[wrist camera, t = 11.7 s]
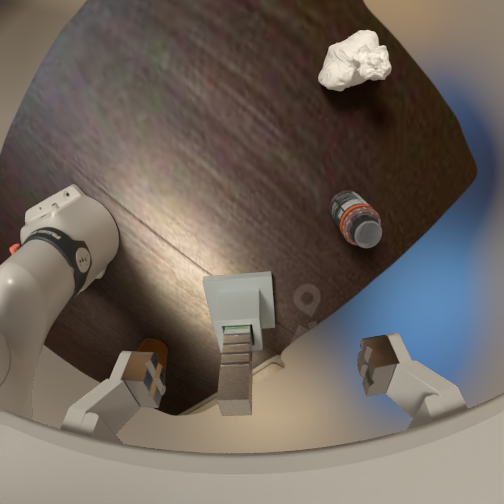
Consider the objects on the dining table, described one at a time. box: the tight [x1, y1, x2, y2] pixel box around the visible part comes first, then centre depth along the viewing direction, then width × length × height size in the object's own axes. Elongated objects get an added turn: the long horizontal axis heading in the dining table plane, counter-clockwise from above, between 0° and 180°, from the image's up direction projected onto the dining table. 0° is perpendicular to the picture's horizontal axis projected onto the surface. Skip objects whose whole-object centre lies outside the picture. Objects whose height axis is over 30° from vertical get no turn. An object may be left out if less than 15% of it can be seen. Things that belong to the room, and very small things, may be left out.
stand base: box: [203, 271, 275, 352], centre depth 51 cm, size 12×12×10 cm
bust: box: [318, 30, 391, 91], centre depth 32 cm, size 12×8×11 cm
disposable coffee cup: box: [136, 338, 168, 395], centre depth 57 cm, size 10×10×12 cm
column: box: [217, 325, 252, 416], centre depth 42 cm, size 4×4×16 cm
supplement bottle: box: [329, 190, 382, 248], centre depth 42 cm, size 6×6×11 cm
